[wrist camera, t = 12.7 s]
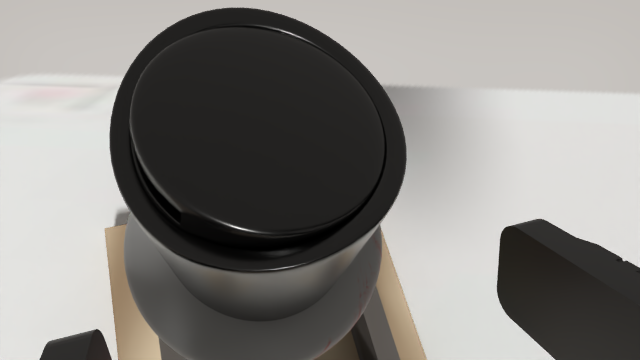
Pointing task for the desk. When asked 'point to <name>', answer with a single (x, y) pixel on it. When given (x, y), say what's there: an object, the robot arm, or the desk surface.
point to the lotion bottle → (253, 185)
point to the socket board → (345, 356)
